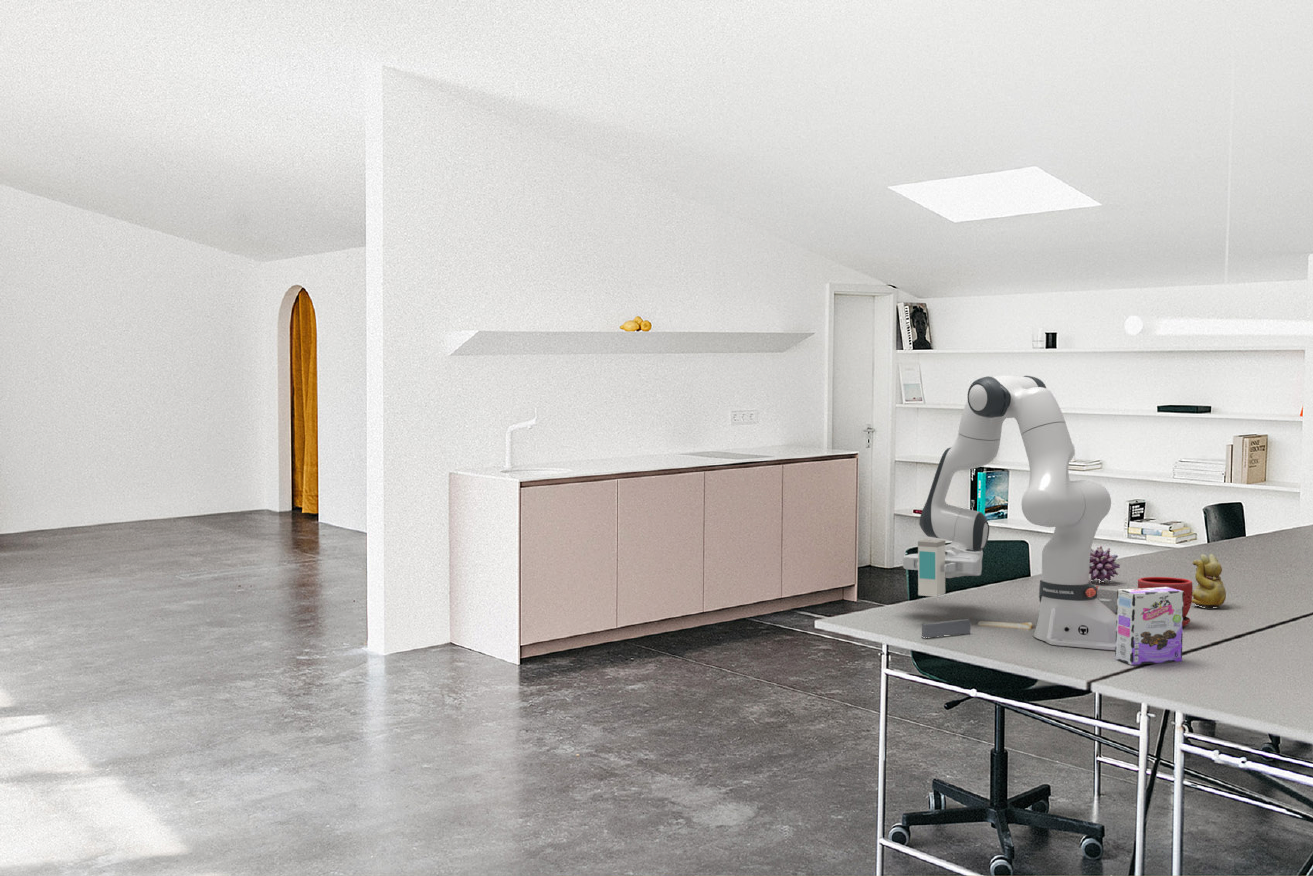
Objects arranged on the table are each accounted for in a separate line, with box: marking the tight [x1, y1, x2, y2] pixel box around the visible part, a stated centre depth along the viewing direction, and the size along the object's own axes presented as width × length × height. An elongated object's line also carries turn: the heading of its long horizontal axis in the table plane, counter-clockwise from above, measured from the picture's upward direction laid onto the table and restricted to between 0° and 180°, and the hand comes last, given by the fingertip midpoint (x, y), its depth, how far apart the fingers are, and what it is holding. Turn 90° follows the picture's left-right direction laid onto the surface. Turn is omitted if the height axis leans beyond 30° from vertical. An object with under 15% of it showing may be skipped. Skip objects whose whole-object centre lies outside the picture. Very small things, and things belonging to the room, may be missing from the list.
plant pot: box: [1137, 576, 1194, 627], centre depth 298 cm, size 13×13×12 cm
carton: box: [917, 538, 946, 598], centre depth 296 cm, size 5×6×14 cm
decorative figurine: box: [1191, 553, 1227, 608], centre depth 321 cm, size 10×8×15 cm
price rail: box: [921, 618, 971, 638], centre depth 285 cm, size 2×14×4 cm, turn 115°
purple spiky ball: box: [1089, 545, 1121, 582], centre depth 359 cm, size 12×12×12 cm
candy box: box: [1114, 587, 1184, 666], centre depth 259 cm, size 14×6×16 cm, turn 105°
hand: (931, 567), depth 296 cm, fingers closed on carton, 5 cm apart
